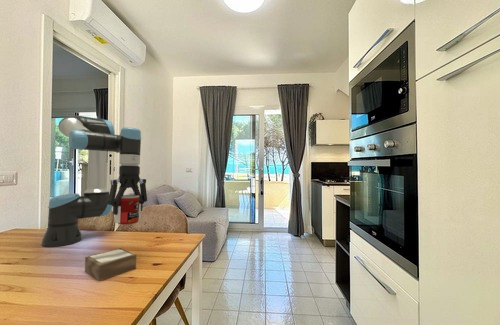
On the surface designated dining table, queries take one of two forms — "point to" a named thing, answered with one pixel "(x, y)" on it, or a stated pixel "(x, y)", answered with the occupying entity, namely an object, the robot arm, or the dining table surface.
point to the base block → (110, 263)
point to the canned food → (129, 209)
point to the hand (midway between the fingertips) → (127, 220)
